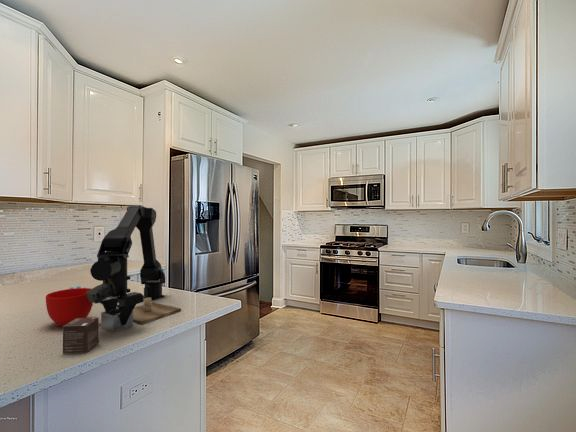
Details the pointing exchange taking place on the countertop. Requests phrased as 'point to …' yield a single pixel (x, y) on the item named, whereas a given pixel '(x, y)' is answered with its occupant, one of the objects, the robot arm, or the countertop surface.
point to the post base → (152, 311)
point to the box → (80, 335)
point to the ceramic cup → (68, 305)
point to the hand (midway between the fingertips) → (117, 323)
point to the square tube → (114, 320)
